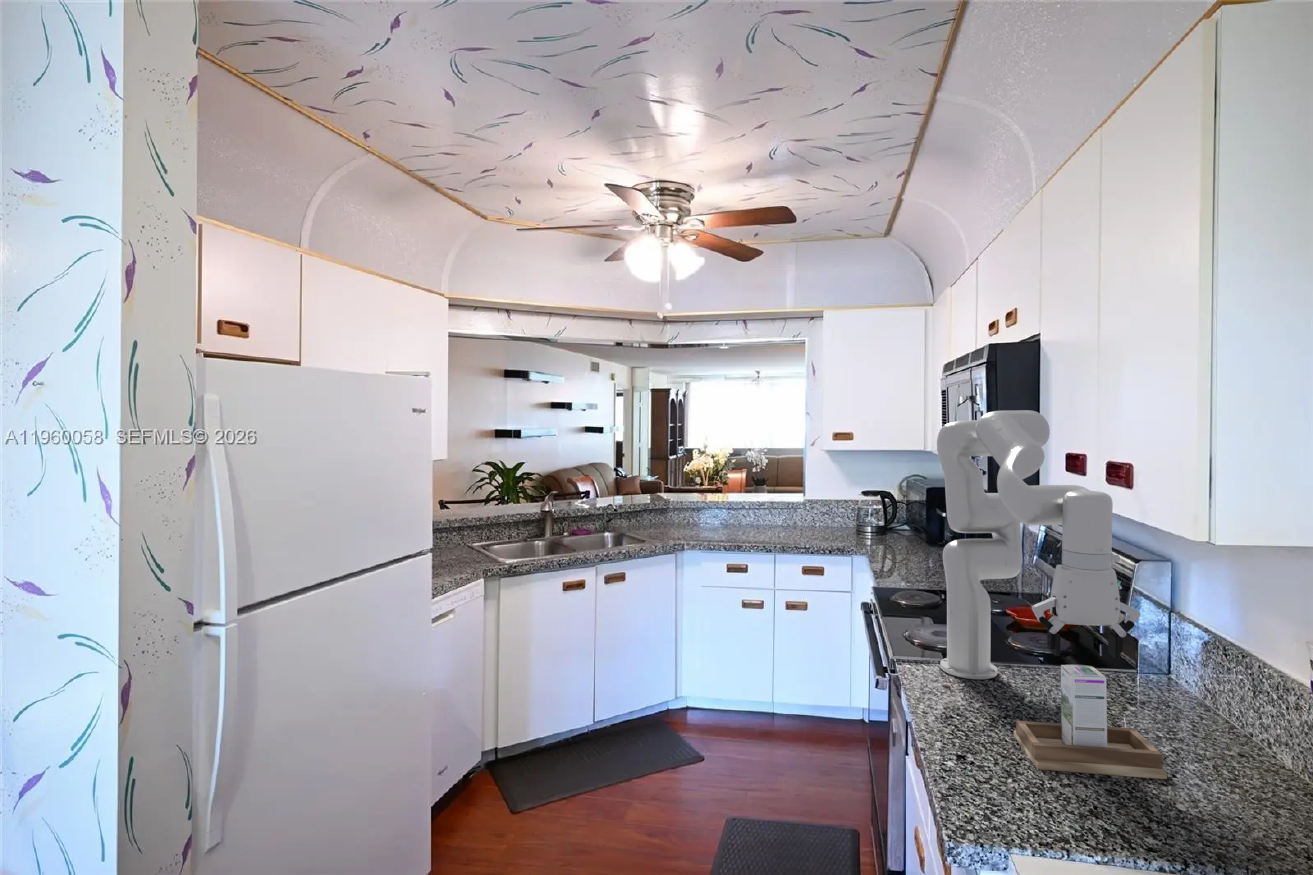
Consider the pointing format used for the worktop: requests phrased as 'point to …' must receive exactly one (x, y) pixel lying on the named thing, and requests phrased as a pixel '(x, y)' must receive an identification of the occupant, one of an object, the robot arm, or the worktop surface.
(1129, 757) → the brown wooden tray
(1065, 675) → the syrup box
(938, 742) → the worktop surface
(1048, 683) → the worktop surface
